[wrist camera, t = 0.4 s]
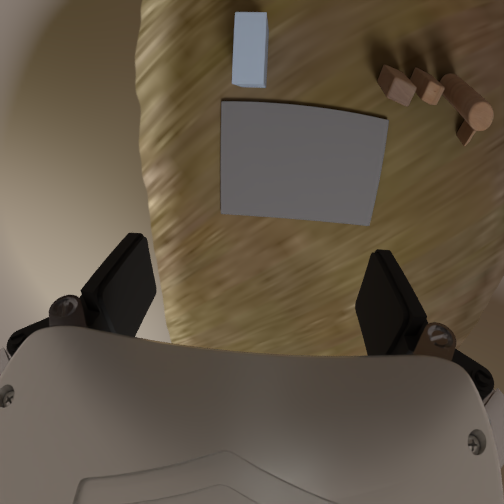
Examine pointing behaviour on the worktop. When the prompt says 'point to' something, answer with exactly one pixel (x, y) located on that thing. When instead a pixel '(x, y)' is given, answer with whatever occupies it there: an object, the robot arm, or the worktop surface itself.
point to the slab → (250, 49)
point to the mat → (300, 162)
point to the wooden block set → (431, 90)
